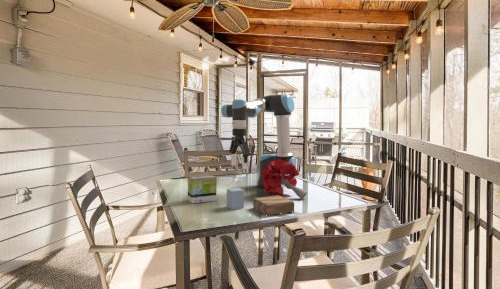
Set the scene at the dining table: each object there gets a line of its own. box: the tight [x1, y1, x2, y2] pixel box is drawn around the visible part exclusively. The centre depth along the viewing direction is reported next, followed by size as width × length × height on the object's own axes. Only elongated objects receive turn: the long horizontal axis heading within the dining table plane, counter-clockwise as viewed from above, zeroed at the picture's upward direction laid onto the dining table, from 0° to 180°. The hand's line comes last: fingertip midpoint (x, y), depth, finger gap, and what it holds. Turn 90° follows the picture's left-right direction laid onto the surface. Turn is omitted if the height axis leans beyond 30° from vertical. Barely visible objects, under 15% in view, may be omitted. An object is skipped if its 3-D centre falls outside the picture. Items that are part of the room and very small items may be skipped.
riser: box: [252, 195, 295, 217], centre depth 168 cm, size 16×16×6 cm
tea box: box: [187, 174, 217, 204], centre depth 187 cm, size 15×10×15 cm, turn 117°
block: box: [226, 187, 245, 211], centre depth 173 cm, size 7×7×10 cm
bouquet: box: [261, 160, 308, 200], centre depth 196 cm, size 22×24×30 cm
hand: (239, 167), depth 172 cm, fingers open, 13 cm apart
